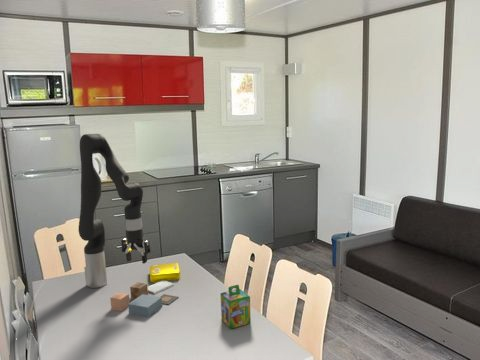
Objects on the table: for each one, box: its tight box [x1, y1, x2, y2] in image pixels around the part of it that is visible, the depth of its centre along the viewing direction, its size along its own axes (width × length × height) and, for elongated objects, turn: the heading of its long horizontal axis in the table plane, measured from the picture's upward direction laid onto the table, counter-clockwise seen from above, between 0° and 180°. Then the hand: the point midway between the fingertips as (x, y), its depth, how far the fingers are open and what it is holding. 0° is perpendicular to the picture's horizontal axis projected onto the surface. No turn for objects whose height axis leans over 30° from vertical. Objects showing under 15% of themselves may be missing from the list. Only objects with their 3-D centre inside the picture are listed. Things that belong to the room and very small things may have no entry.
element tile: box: [149, 262, 181, 284], centre depth 216 cm, size 15×15×5 cm
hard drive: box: [147, 280, 175, 295], centre depth 201 cm, size 2×8×12 cm
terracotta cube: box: [110, 292, 130, 312], centre depth 182 cm, size 6×6×6 cm
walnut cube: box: [129, 282, 149, 300], centre depth 192 cm, size 6×6×6 cm
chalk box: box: [219, 284, 252, 330], centre depth 165 cm, size 9×9×15 cm
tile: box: [160, 293, 179, 306], centre depth 188 cm, size 8×8×1 cm
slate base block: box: [127, 294, 163, 318], centre depth 179 cm, size 10×10×4 cm
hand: (136, 262), depth 190 cm, fingers open, 8 cm apart
